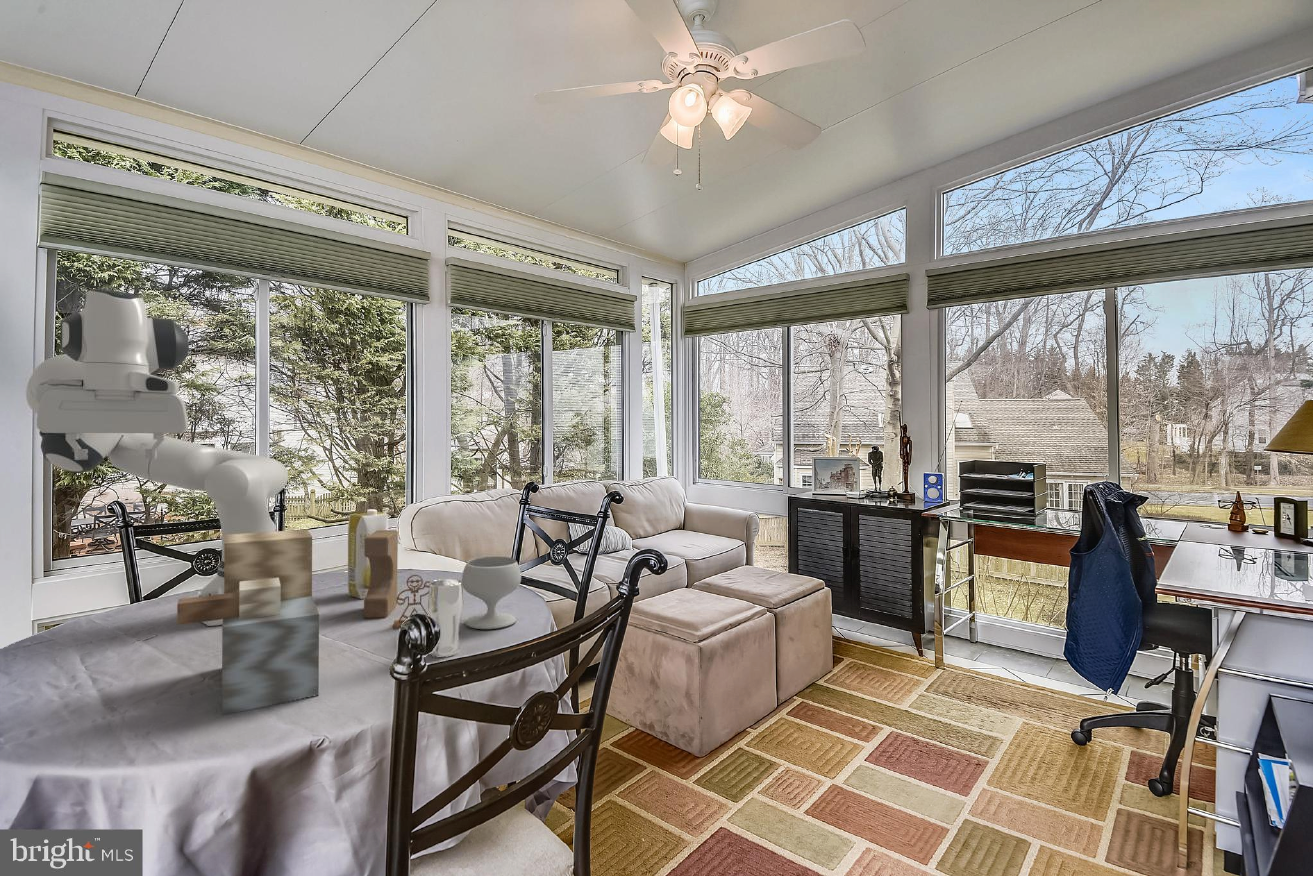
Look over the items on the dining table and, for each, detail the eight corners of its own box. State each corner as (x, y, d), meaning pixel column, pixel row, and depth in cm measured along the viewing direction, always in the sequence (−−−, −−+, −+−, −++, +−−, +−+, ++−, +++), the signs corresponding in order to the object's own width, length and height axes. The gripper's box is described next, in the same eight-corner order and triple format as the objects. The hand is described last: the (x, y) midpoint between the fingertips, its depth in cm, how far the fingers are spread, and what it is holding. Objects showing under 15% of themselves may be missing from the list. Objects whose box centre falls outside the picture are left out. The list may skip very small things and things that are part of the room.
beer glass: (442, 661, 127) (443, 588, 126) (420, 654, 130) (421, 582, 130) (469, 650, 133) (470, 581, 132) (447, 644, 136) (448, 576, 136)
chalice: (464, 635, 142) (465, 570, 142) (458, 617, 155) (458, 557, 155) (525, 628, 148) (526, 565, 148) (514, 611, 161) (515, 553, 161)
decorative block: (387, 618, 154) (387, 537, 153) (362, 618, 153) (363, 537, 152) (398, 605, 165) (398, 529, 164) (375, 605, 164) (376, 530, 163)
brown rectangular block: (176, 628, 101) (176, 597, 101) (179, 616, 107) (180, 587, 107) (280, 614, 109) (280, 586, 109) (278, 604, 115) (278, 577, 115)
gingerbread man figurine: (394, 629, 146) (395, 578, 145) (393, 624, 149) (394, 574, 149) (434, 624, 149) (435, 575, 149) (433, 620, 153) (433, 571, 153)
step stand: (221, 714, 102) (222, 557, 102) (225, 667, 122) (225, 534, 121) (318, 695, 110) (319, 549, 109) (306, 653, 129) (307, 529, 129)
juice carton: (360, 600, 168) (361, 512, 167) (343, 596, 172) (344, 509, 171) (391, 593, 175) (392, 508, 175) (375, 589, 180) (375, 506, 179)
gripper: (30, 377, 102) (30, 461, 102) (186, 383, 113) (186, 459, 114) (40, 379, 107) (41, 459, 107) (188, 384, 119) (188, 457, 119)
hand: (116, 459), depth 111 cm, fingers open, 8 cm apart
